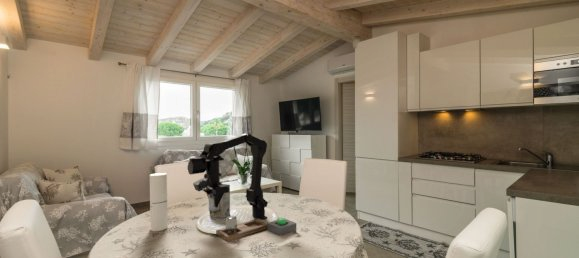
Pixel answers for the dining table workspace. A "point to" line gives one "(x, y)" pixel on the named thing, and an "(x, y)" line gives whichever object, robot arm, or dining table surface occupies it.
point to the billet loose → (212, 203)
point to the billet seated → (231, 225)
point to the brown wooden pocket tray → (243, 229)
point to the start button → (281, 221)
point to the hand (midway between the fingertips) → (214, 206)
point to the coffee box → (223, 206)
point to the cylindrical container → (158, 201)
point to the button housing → (281, 227)
